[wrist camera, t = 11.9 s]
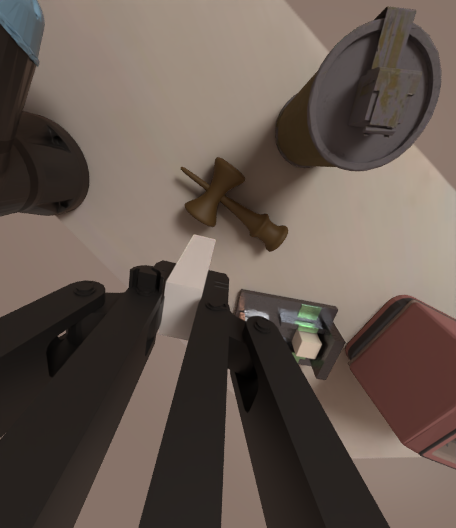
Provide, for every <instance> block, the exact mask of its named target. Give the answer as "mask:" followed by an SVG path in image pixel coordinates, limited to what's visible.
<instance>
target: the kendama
mask: <svg viewBox="0 0 456 528" xmlns="http://www.w3.org/2000/svg"><path fill="white" fill-rule="evenodd" d="M181 170H182V171H183V172H184V173H185V174H186V175H188V176H189V177H190V178H191V179H193V180H194V181H195V182H196V183H198V184H199V185H200V186H201V187H203V188H204V189H205V190H206V192H205V193H204V194H203V195H202V196H200V197H198V198H196V199H194V200H191V201H189V202H187V203H185V209H186V210H187V212H189V213H190V214H191V215H192V216H193V217H194V218H196V219H197V220H198V221H200V222H202V223H203V224H205V225H207V226H211V227H214V226H215V225H216V215H217V207H218V204H219V202H221V203H222V204H223V205H225V206H226V207H227V208H228V209H229V210H230V211H231V212H232V213H234V214H235V215H236V216H237V217H238V218H239V219H240V220H241V221H242V222H243V223H244V224H245V225H246V227H247V228H248V229H249V231H250V236H251V237H257V238H259V239H260V240H262V241H263V242H264V244H265V246H266V249H267V250H268V251H269V252H270V251H274V250H275V249H277V248H278V247H279V246H280V245H281V244H282V243H283V241H284V240H285V238H286V236H287V234H288V228H287V227H286V226H277V225H275V224H274V223H272V222H271V221H270V219H269V216H268V214H257V213H255V212H253V211H251V210H249V209H247V208H246V207H244V206H242V205H240V204H239V203H237V202H235V201H234V200H232V199H230V198H229V197H227V196H226V195H225V194H226V193H227V192H228V191H229V190H230V189H232V188H234V187H236V186H238V185H240V184H242V183H243V182H245V177H244V176H243V175H242V174H241V173H240V172H239V171H238V170H237V169H236V168H235V167H233V166H232V165H231V164H229V163H228V162H227V161H225V160H224V159H222V158H220V157H217V158H216V159H215V165H214V175H213V179H212V182H211V184H210V185H209V184H208V183H206V182H205V181H203V180H202V179H201V178H199V177H198V176H196V175H195V174H193V173H192V172H190V171H189V170H187V169H186V168H184V167H181Z"/></svg>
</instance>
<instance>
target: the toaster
mask: <svg viewBox="0 0 456 528" xmlns="http://www.w3.org/2000/svg"><path fill="white" fill-rule="evenodd" d="M346 354H347V356H348V358H349V359H350V361H349V363H348V364H349V366H350V370H351V371H352V373H353V374H354V375H355V377H356V378H357V380H358V381H359V383H360V384H361V385H362V387H363V388H364V390H365V391H366V393H367V394H368V395H369V397H370V398H371V400H372V401H373V403H374V404H375V405H376V407H377V408H378V410H379V411H380V413H381V414H382V416H383V417H384V418H385V420H386V421H387V423H388V424H389V426H390V427H391V428H392V430H393V431H394V433H395V434H396V436H397V437H398V438H399V440H400V441H401V443H402V444H403V445H404V446H406V447H408V448H409V449H411V450H413V451H414V452H416V453H418V454H419V455H420V456H422V457H425V458H427V459H430V460H432V461H435V462H438V463H440V464H443V465H446V466H448V467H451V468H453V469H456V319H454V318H452V317H450V316H448V315H447V314H445V313H443V312H441V311H439V310H437V309H435V308H433V307H431V306H429V305H427V304H425V303H424V302H422V301H420V300H418V299H416V298H414V297H412V296H408V295H399V296H396V297H394V298H392V299H391V300H389V301H388V302H387V303H386V304H385V305H384V306H383V307H382V308H381V309H380V310H379V311H378V312H377V313H376V314H375V315H374V317H373V318H372V319H371V320H370V321H369V322H368V323H367V324H366V325H365V326H364V327H363V328H362V329H361V330H360V331H359V332H358V333H357V334H356V335H355V336H354V337H353V338H352V340H351V341H350V342H349V343H348V344H347V346H346Z"/></svg>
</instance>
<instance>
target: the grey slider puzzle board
mask: <svg viewBox="0 0 456 528" xmlns="http://www.w3.org/2000/svg"><path fill="white" fill-rule="evenodd" d="M240 312H242V313H245V317H247V318H249V317H251V316H261V317H264V318H267V319H269V320H270V321H272V322H273V323H274V324H275V325H276V326H277V327H278V329H279V331H280V333H281V335H282V336H283V338H284V340H285V342H286V343H287V345H288V347H289V349H290V351H291V352H292V354H293V356H294V358H295V359H296V361H297V363H298V364H301V365H307V366H312V369H313V371H314V374H315V377H316V378H317V379H323V380H326V379H327V377H328V375H329V373H330V371H331V369H332V367H333V365H334V363H335V362H336V360H337V358H338V356H339V354H340V352H341V350H342V348H343V346H344V344H345V341H344V339H343V338H342V336H341V334H340V333H339V331H338V329H337V328H336V326H335V324H334V323H333V320H334V318H335V316H336V314H337V312H338V309H337V307H336V306H331V305H325V304H320V303H315V302H309V301H304V300H298V299H293V298H287V297H282V296H276V295H271V294H265V293H260V292H254V291H249V290H243V289H241V292H240V296H239V300H238V304H237V308H236V313H235V316H236V317H238V318H239V314H240ZM296 329H297V330H299V331H305V332H311V333H316V334H317V335H318V337H319V339H320V341H321V343H322V346H321V348H320V350H319V352H318V354H317V356H316V358H315V359H311V358H305V357H299V356H296V354H295V351H294V348H293V345H292V339H293V337H294V334H295V332H296Z"/></svg>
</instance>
